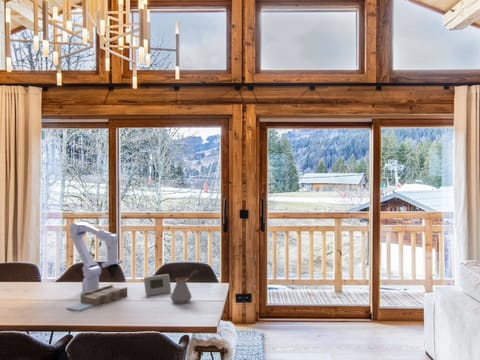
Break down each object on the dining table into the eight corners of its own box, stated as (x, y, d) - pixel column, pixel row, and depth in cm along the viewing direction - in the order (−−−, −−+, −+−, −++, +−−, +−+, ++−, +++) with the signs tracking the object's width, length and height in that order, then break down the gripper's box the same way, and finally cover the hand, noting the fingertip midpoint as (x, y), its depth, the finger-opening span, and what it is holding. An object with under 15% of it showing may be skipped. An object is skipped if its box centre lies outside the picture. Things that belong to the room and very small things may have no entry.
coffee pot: (183, 306, 210) (183, 278, 210) (166, 303, 215) (166, 276, 215) (204, 296, 229) (204, 270, 229) (188, 293, 234) (188, 268, 234)
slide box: (111, 293, 235) (111, 284, 235) (127, 296, 229) (127, 287, 229) (80, 303, 215) (80, 293, 215) (97, 306, 209) (97, 296, 209)
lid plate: (82, 305, 214) (82, 302, 214) (94, 307, 210) (94, 304, 210) (66, 310, 205) (66, 307, 205) (79, 312, 201) (79, 310, 201)
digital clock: (145, 296, 227) (145, 278, 228) (142, 293, 236) (142, 275, 236) (172, 293, 234) (172, 276, 234) (169, 290, 242) (169, 273, 242)
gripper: (107, 256, 224) (107, 280, 223) (125, 252, 236) (126, 275, 236) (98, 256, 227) (99, 279, 227) (117, 252, 240) (117, 274, 239)
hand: (112, 277), depth 232 cm, fingers closed
